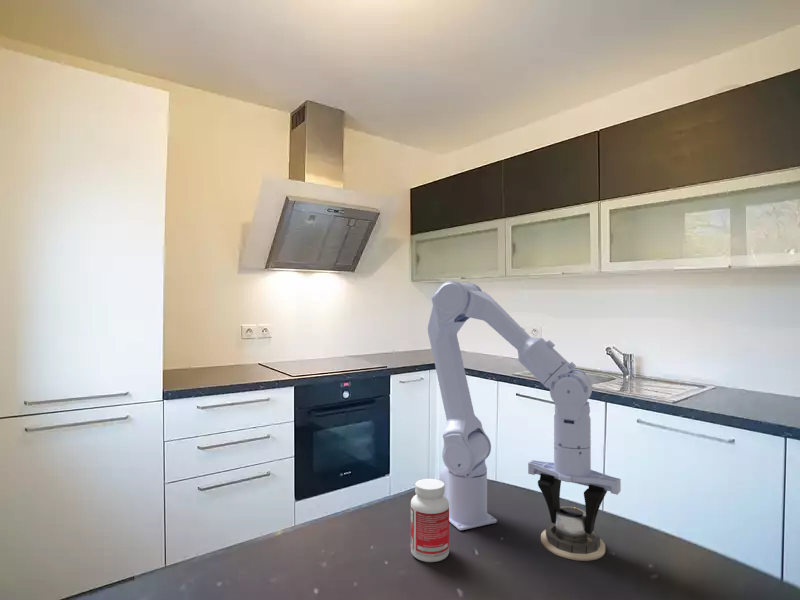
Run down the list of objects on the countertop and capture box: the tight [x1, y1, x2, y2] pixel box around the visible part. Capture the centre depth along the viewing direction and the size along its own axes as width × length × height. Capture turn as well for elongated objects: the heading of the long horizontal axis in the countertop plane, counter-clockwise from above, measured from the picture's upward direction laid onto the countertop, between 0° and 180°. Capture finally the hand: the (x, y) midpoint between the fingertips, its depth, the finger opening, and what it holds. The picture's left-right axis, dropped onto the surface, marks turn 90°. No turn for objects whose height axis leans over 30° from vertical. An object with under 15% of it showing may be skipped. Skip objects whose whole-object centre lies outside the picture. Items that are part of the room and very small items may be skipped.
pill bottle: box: [410, 478, 450, 563], centre depth 74 cm, size 6×6×11 cm
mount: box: [540, 522, 606, 562], centre depth 76 cm, size 10×10×2 cm
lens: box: [556, 505, 588, 544], centre depth 76 cm, size 5×5×4 cm
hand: (572, 526), depth 76 cm, fingers closed on lens, 5 cm apart
